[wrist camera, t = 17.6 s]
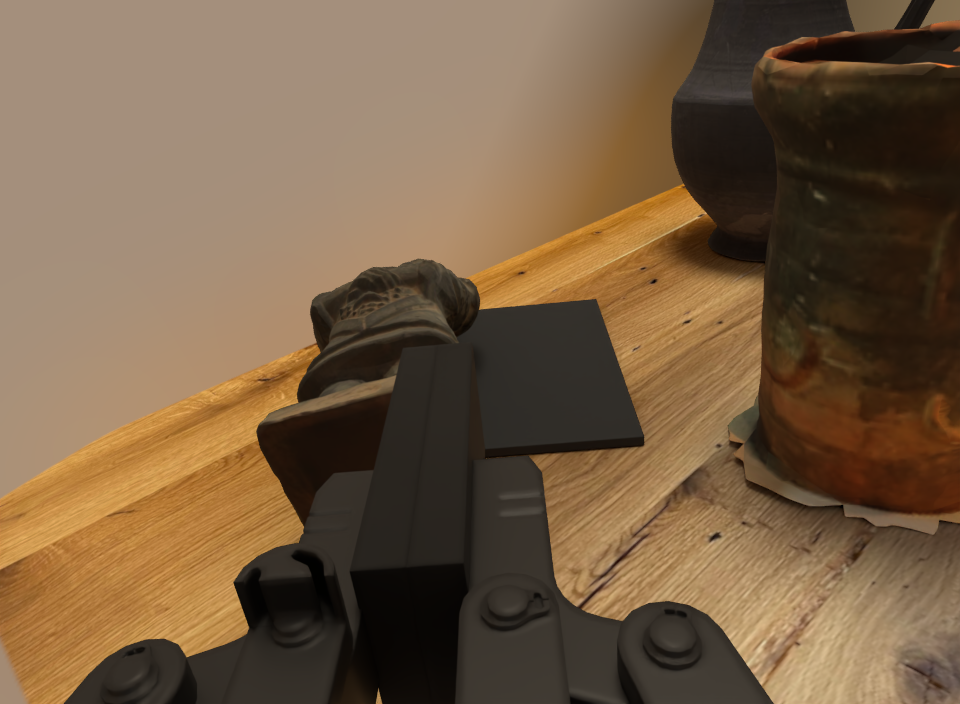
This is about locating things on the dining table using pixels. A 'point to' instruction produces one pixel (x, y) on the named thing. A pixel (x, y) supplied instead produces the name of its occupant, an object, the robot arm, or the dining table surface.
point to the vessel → (862, 277)
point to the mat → (549, 380)
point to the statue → (360, 370)
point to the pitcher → (744, 113)
